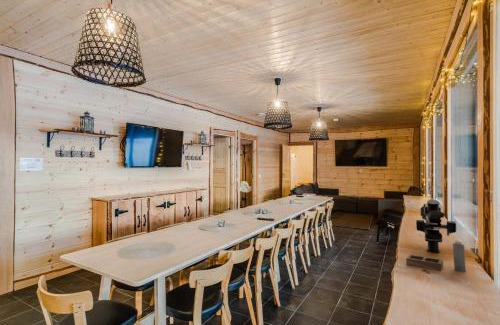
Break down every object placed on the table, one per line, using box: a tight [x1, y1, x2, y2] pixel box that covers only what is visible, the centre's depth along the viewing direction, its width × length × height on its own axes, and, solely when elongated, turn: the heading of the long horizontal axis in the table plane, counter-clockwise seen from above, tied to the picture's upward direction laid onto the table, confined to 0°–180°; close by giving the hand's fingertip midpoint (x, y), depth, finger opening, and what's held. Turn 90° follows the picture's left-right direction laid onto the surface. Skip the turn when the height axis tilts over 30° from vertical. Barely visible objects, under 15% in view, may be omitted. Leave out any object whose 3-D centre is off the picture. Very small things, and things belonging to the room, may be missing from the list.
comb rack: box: [405, 254, 444, 272], centre depth 146 cm, size 8×16×4 cm, turn 49°
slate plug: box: [452, 240, 467, 273], centre depth 138 cm, size 5×5×15 cm
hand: (437, 234), depth 148 cm, fingers open, 9 cm apart
